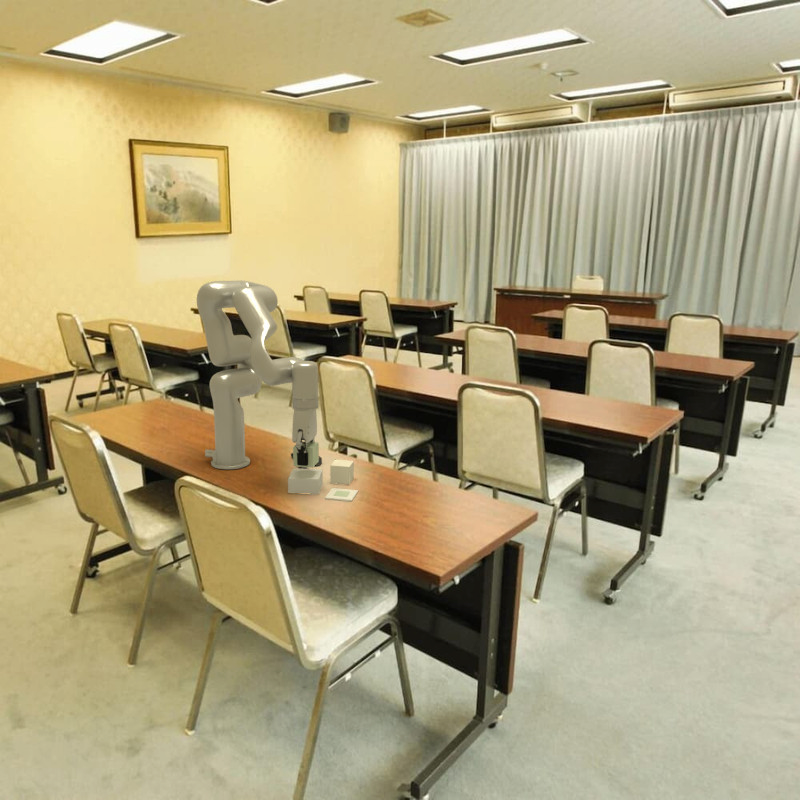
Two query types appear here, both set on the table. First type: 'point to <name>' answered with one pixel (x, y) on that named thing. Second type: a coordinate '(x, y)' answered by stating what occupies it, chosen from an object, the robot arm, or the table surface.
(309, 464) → the sage cube
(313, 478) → the base block
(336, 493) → the card
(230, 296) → the robot arm
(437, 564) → the table surface
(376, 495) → the table surface
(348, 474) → the cream cube
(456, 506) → the table surface
